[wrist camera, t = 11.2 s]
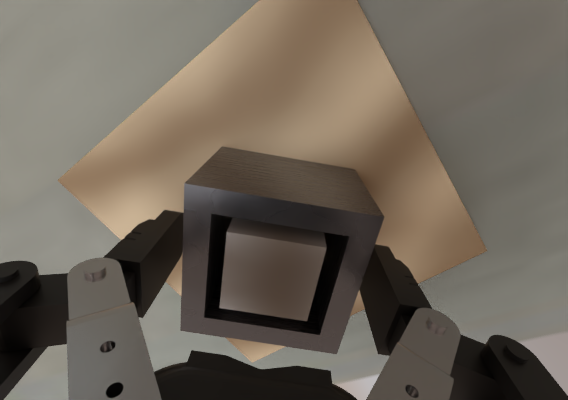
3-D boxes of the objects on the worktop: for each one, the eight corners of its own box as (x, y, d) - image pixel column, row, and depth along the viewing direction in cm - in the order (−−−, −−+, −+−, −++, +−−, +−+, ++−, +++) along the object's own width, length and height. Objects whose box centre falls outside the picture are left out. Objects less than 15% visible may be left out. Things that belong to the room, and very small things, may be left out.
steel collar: (213, 257, 16) (180, 330, 11) (221, 146, 13) (184, 183, 9) (325, 275, 16) (336, 354, 12) (354, 169, 14) (384, 216, 9)
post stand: (77, 170, 16) (-53, 229, 10) (322, -44, 12) (350, -166, 6) (254, 343, 21) (238, 451, 15) (471, 236, 17) (569, 326, 11)
